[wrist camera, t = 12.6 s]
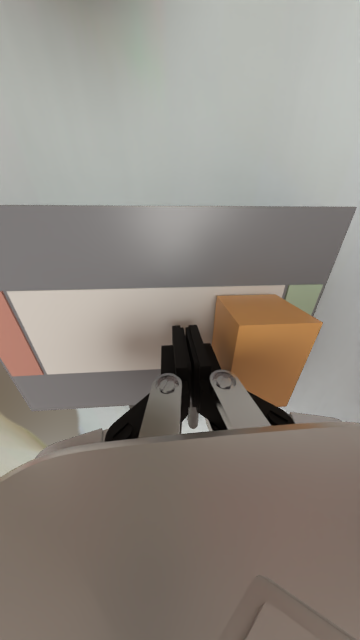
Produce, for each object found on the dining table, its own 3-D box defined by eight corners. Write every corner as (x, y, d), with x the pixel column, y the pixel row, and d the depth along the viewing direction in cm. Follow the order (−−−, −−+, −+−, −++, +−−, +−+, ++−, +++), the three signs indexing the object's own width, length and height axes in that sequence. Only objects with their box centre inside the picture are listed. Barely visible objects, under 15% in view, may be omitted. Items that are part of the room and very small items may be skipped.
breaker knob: (275, 294, 12) (322, 322, 8) (257, 362, 14) (286, 406, 11) (216, 295, 11) (239, 325, 8) (209, 365, 14) (223, 410, 11)
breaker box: (298, 214, 14) (358, 206, 10) (242, 418, 27) (257, 456, 22) (-8, 213, 13) (-103, 204, 8) (86, 428, 26) (68, 471, 21)
